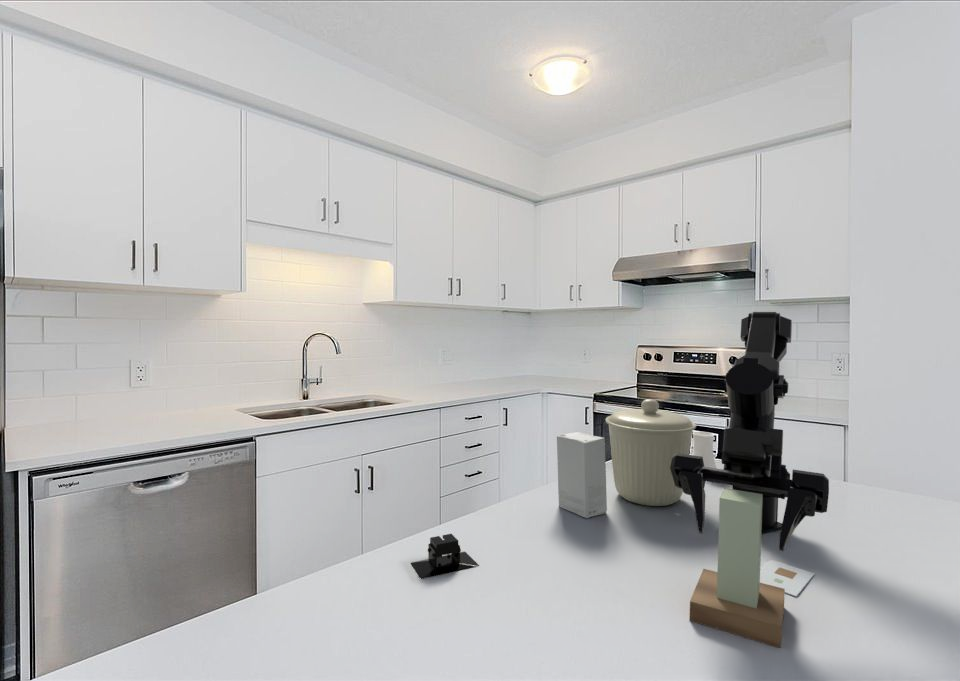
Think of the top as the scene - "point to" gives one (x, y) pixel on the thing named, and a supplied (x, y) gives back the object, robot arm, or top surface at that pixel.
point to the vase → (704, 447)
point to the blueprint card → (785, 577)
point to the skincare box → (582, 474)
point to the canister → (648, 452)
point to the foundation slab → (739, 611)
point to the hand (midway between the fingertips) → (739, 540)
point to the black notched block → (443, 558)
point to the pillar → (739, 547)
